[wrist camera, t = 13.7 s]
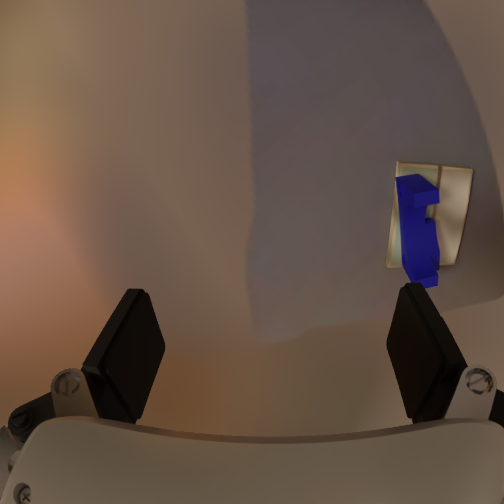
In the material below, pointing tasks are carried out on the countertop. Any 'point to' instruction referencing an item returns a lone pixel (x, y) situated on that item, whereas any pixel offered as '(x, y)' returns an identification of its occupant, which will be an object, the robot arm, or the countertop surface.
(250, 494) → the robot arm
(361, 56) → the countertop surface
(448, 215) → the board
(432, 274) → the cable clip
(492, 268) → the countertop surface
